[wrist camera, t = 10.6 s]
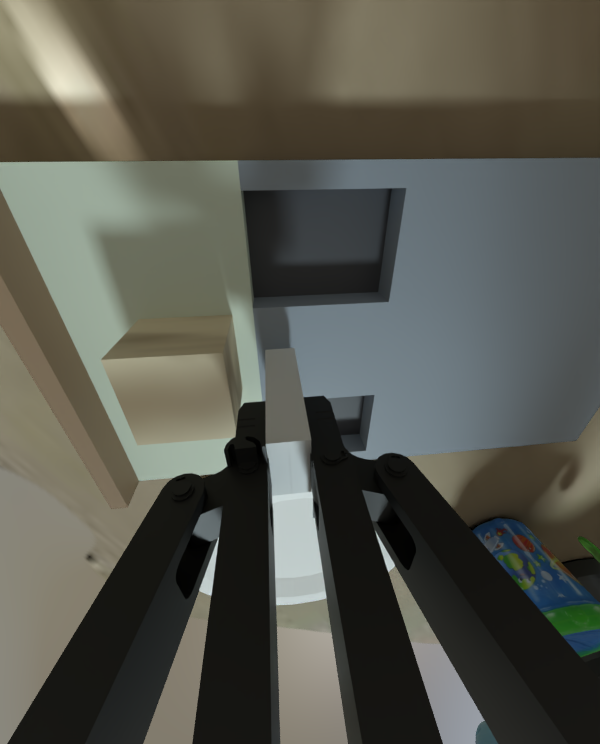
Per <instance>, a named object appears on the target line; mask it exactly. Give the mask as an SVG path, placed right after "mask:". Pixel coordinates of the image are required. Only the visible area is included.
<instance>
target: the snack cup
mask: <svg viewBox="0 0 600 744" xmlns="http://www.w3.org/2000/svg"><path fill="white" fill-rule="evenodd" d="M472 532H473V533H474V534H475V535H476V536H477V537H478V539H479V540H480V541H481V542H482V543H483V544H484V546H485V547H486V548H487V549H488V550H489V551H490V553H491V554H492V555H493V556H494V557H495V558H496V560H497V561H498V562H499V563H500V564H501V565H502V566H503V568H504V569H505V570H506V571H507V572H508V573H509V575H510V576H511V577H512V578H513V579H514V580H515V582H516V583H517V584H518V585H519V586H520V587H521V589H522V590H523V591H524V592H525V593H526V594H527V596H528V597H529V598H530V599H531V600H532V601H533V603H534V604H535V605H536V606H537V607H538V608H539V609H540V611H541V612H542V613H543V614H544V615H545V616H546V618H547V619H548V620H549V621H550V622H551V623H552V625H553V626H554V627H555V628H556V629H557V630H558V632H559V633H560V634H561V635H562V636H563V637H564V639H565V640H566V641H567V642H568V643H569V644H570V645H571V647H572V648H573V649H574V650H575V651H576V652H577V654H578V655H579V656H580V657H583V656H586V655H589V654H592V653H594V652H598V651H600V603H599V602H598V601H597V600H596V599H595V598H594V597H593V596H592V595H591V594H590V593H589V592H588V591H587V590H586V589H585V588H584V586H583V585H582V584H581V583H580V582H579V581H578V580H577V579H576V578H575V577H574V576H573V575H572V574H571V573H570V571H569V570H568V569H567V568H566V567H565V566H564V565H563V564H562V563H561V562H560V561H559V560H558V559H557V558H556V557H555V556H554V555H553V554H552V553H551V551H550V550H549V549H548V548H547V547H546V546H545V545H544V544H542V543H541V542H540V540H539V539H538V538H536V537H535V535H534V534H533V533H532V532H531V531H530V530H529V529H528V528H527V527H526V526H525V525H524V524H523V523H522V522H518V521H516V520H513V519H501V518H495V519H493V520H492V521H489V522H485V523H483V524H481V525H479V526H477V527H476V528H475V529H474V530H472ZM578 540H579V542H580V543H581V544H582V545H583V546H584V548H585V549H586V550H588V551H589V552H590V553H591V554H592V555H593V556H594V557H595V558H596V560H597V561H598V562H599V563H600V550H599V549H598V548H597V547H596V546H595V545H594V544H592V543H591V542H590V541H588V540H587V539H585V538H584V537H581V536H580V537H578Z"/></svg>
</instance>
